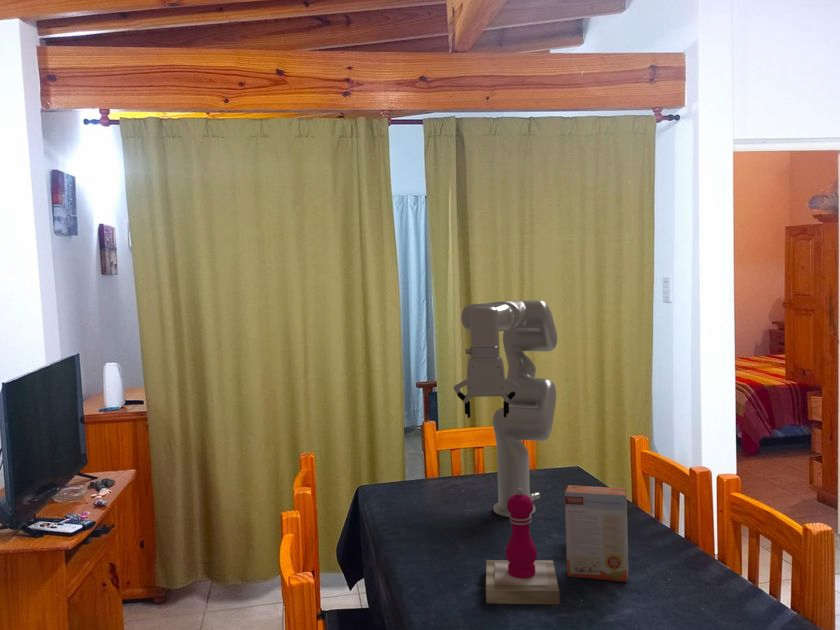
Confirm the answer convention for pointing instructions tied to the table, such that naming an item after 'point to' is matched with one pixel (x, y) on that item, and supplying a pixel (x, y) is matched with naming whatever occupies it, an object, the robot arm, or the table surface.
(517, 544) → the pepper mill
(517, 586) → the birch plinth
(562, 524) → the table surface
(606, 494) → the cracker box
